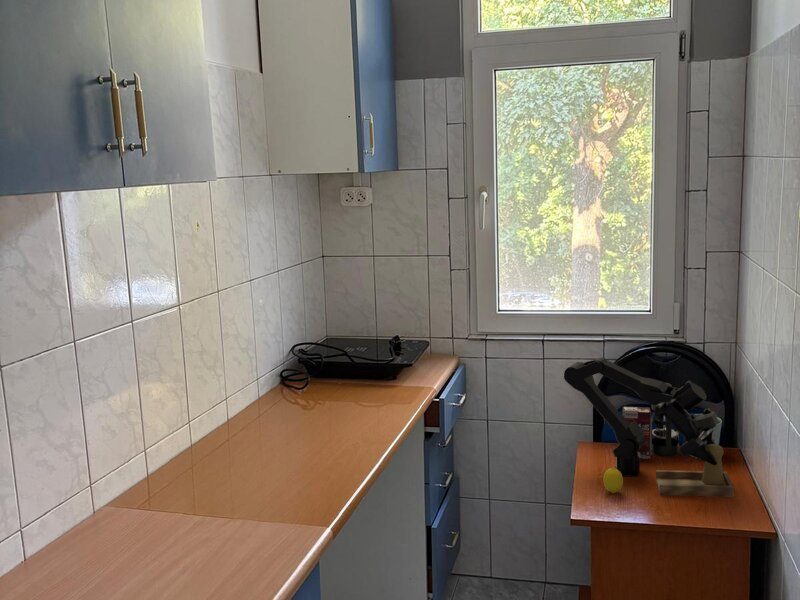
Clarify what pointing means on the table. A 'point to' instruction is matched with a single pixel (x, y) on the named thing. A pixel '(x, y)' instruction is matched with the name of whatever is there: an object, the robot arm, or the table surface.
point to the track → (691, 484)
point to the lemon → (613, 480)
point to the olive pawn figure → (714, 467)
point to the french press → (663, 436)
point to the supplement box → (644, 422)
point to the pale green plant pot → (716, 430)
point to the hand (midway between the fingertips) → (718, 461)
